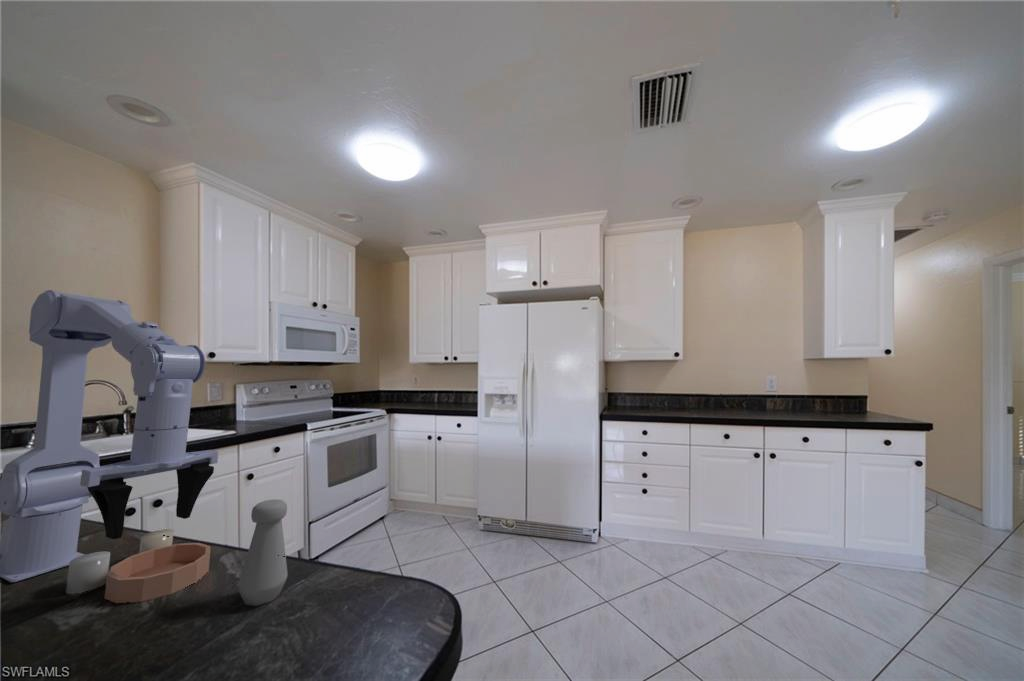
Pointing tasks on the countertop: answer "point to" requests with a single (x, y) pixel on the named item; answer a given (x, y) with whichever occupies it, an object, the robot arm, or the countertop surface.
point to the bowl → (157, 572)
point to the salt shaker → (265, 555)
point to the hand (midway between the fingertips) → (150, 526)
